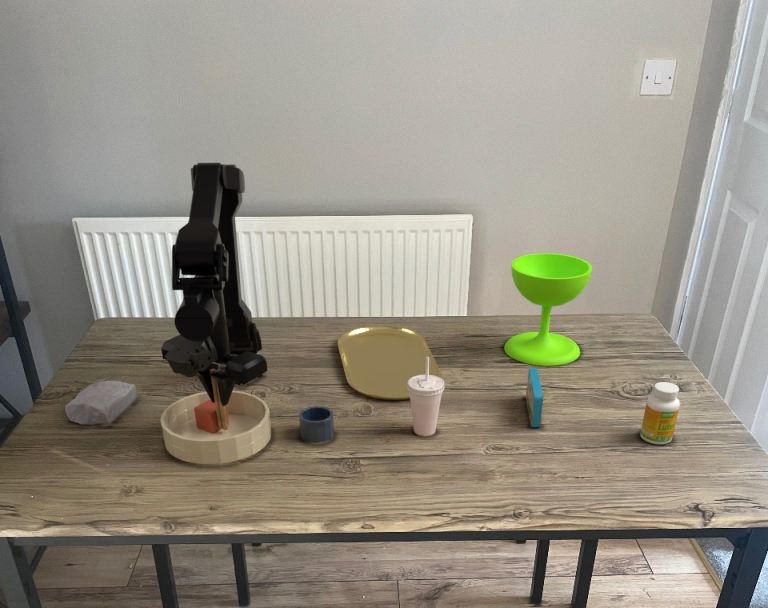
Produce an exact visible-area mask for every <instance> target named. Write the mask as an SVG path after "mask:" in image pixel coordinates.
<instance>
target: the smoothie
mask: <svg viewBox="0 0 768 608" xmlns="http://www.w3.org/2000/svg"><path fill="white" fill-rule="evenodd" d="M407 389H408V390H409V392H410V399H409V400H410V409H411V417H412V425H413V432H414V433H415V434H416V435H418V436H421V437H422V436H423V437H428V436H432V435H434V434H435V433H436V430H437V424H438V417H439V412H440V407H441V401H442V396H443V392H444V390H445V381H444V379H442V378H439V377H437V376H433V375H429V357H426V373H425V375H417V376H414V377H412V378H410V379H409V380H408V386H407Z"/></svg>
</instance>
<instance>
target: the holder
mask: <svg viewBox="0 0 768 608" xmlns="http://www.w3.org/2000/svg"><path fill="white" fill-rule="evenodd" d="M298 418H299V432H300V438H301V439H302V440H303V441H305V442H308V443H315V444H318V443H324V442H327V441H329V440H332V438H333V437H334V436H335V425H334V411H333V410H332V409H330V408H328V407H325V406H320V405H319V406H317V405H316V406H315V405H314V406H308V407H306V408H303V409H302V410H301V411H300V412H299V414H298Z"/></svg>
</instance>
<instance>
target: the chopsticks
mask: <svg viewBox="0 0 768 608" xmlns="http://www.w3.org/2000/svg"><path fill="white" fill-rule="evenodd" d="M217 371H218V370H215V369H210V371H209V375H211V374H213V373H215V372H217ZM211 380H212V387H213V394H214V401H215V408H216V415H217V422H218V428H220V429H221V428H223V430H228V423H227V416H226V408H225V406H222V404H221V400H220V396H219V391H218V385H217V381H216V380H215V379H214V378H212V377H211Z"/></svg>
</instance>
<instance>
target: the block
mask: <svg viewBox="0 0 768 608" xmlns="http://www.w3.org/2000/svg"><path fill="white" fill-rule="evenodd" d="M225 408H226V416H227V423H228V425H229V421H228V413H227V406H226V405H225ZM194 412H195V418H196V424H197V428H199V429H201V430H204V431H207V432H209V433H212V434H214V433H216V432H218V431H219V430H221V429H223V428H221V429H220V428H218V422H217V415H216V408H215V403H213V402H212V401H211V400H208V401H206V402H204V403H202V404H200V405H198V406H196V407H195V408H194Z"/></svg>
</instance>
